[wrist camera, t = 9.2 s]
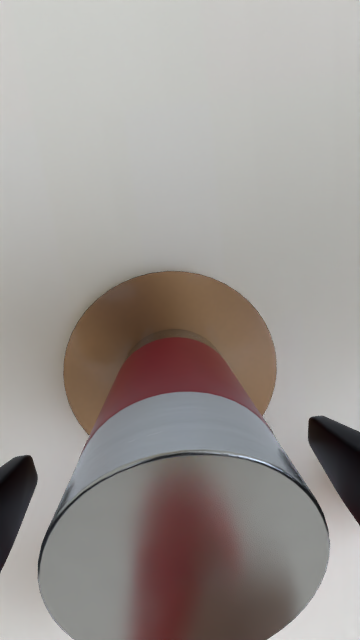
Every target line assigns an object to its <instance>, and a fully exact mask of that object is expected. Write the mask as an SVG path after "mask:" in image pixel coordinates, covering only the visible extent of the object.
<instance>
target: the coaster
mask: <svg viewBox="0 0 360 640" xmlns="http://www.w3.org/2000/svg"><path fill="white" fill-rule="evenodd" d="M167 329H182V330H188V331H191V332H194V333H197V334H199V335H201V336H203V337H204V338H206V339H207V340H208V341H210V342H211V343H212V344H213V345H214V346H215V347H216V349H217V350H218V351H219V353H220V354H221V356H222V357H223V359H224V360H225V361H226V363H227V364H228V366H229V367H230V369H231V370H232V372H233V373H234V375H235V376H236V378H237V379H238V381H239V382H240V384H241V385H242V387H243V388H244V390H245V391H246V393H247V394H248V396H249V397H250V399H251V400H252V402H253V403H254V405H255V406H256V408H257V409H258V411H259V412H260V414H261V415H262V416H263V414H264V413H265V411H266V409H267V407H268V405H269V402H270V400H271V397H272V394H273V390H274V386H275V380H276V355H275V348H274V344H273V341H272V338H271V334H270V332H269V330H268V328H267V326H266V324H265V322H264V320H263V319H262V317H261V316H260V314H259V313H258V311H257V310H256V309H255V308H254V307H253V306H252V305H251V303H250V302H249V301H248V300H247V299H245V298H244V297H243V296H242V295H241V294H240V293H238V292H237V291H235V290H234V289H232V288H231V287H229V286H227V285H226V284H224V283H222V282H219V281H217V280H215V279H213V278H210V277H206V276H203V275H200V274H195V273H189V272H181V271H165V272H156V273H150V274H146V275H142V276H138V277H135V278H132V279H130V280H128V281H125V282H123V283H121V284H119V285H117V286H115V287H114V288H112V289H110V290H109V291H107V292H106V293H105V294H103V295H102V296H101V297H100V298H98V299H97V300H96V301H95V302H94V303H93V304H92V305H91V306H90V307H89V308H88V309H87V310H86V312H85V313H84V314H83V316H82V317H81V318H80V320H79V321H78V323H77V325H76V327H75V328H74V330H73V332H72V334H71V337H70V340H69V342H68V345H67V348H66V354H65V359H64V374H63V375H64V385H65V391H66V395H67V398H68V402H69V404H70V407H71V409H72V411H73V413H74V415H75V417H76V418H77V420H78V422H79V424H80V425H81V426H82V427H83V429H84V430H85V431H86V432H87V434H88V435H90V433H91V431H92V429H93V427H94V424H95V422H96V420H97V418H98V416H99V414H100V411H101V409H102V407H103V405H104V403H105V401H106V398H107V396H108V394H109V392H110V390H111V387H112V385H113V383H114V381H115V379H116V377H117V374H118V372H119V370H120V369H121V367H122V365H123V362H124V360H125V358H126V356H127V355H128V353H129V352H130V350H131V349H132V348H133V347H134V346H135V345H136V344H137V343H138V342H139V341H140V340H142V339H143V338H145V337H146V336H148V335H150V334H152V333H155V332H158V331H162V330H167Z"/></svg>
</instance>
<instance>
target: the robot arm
mask: <svg viewBox="0 0 360 640" xmlns="http://www.w3.org/2000/svg"><path fill="white" fill-rule="evenodd" d="M308 441H309V444H310V446H311V448H312V450H313V452H314V453H315V455H316V457H317V458H318V460H319V462H320V464H321V465H322V467H323V469H324V470H325V472H326V474H327V476H328V477H329V479H330V481H331V482H332V484H333V486H334V488H335V489H336V491H337V493H338V494H339V496H340V497H341V499H342V500H343V502H344V503H345V505H346V506H347V508H348V509H349V511H350V512H351V514H352V515H353V516H354V518H355V519H356V521H357V522H358V524H359V525H360V432H358V431H356V430H354V429H352V428H349V427H347V426H345V425H343V424H340V423H338V422H336V421H334V420H331V419H329V418H327V417H325V416H315V417H311V418H310V419H309V424H308ZM37 480H38V476H37V472H36V469H35V465H34V462H33V459H32V457H31V456H30V455H24V456H17V457H15V458H13V459H11V460H10V461H9V462H7V463H6V464H4V465H3V466H1V467H0V572H1V570H2V568H3V566H4V564H5V562H6V559H7V557H8V555H9V553H10V551H11V548H12V546H13V544H14V541H15V539H16V536H17V534H18V531H19V529H20V526H21V524H22V521H23V518H24V516H25V513H26V511H27V508H28V506H29V503H30V500H31V498H32V495H33V493H34V490H35V487H36V485H37Z"/></svg>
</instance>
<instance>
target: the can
mask: <svg viewBox="0 0 360 640" xmlns="http://www.w3.org/2000/svg"><path fill="white" fill-rule="evenodd" d="M329 550H330V540H329V532H328V527H327V524H326V520H325V517H324V514H323V512H322V510H321V508H320V506H319V504H318V502H317V500H316V498H315V497H314V495H313V494H312V492H311V491H310V489H309V488H308V486H307V485H306V483H305V482H304V480H303V479H302V477H301V476H300V474H299V473H298V471H297V470H296V468H295V467H294V465H293V464H292V462H291V461H290V459H289V458H288V456H287V455H286V453H285V451H284V450H283V448H282V447H281V445H280V444H279V442H278V441H277V439H276V438H275V436H274V434H273V432H272V430H271V429H270V427H269V426H268V424H267V423H266V421H265V420H264V418H263V417H262V415H261V414H260V412H259V411H258V409H257V408H256V406H255V405H254V403H253V402H252V400H251V399H250V397H249V396H248V394H247V393H246V391H245V390H244V388H243V387H242V385H241V384H240V382H239V381H238V379H237V378H236V376H235V375H234V373H233V372H232V370H231V369H230V367H229V366H228V364H227V363H226V361H225V360H224V359H223V357H222V356H221V354H220V353H219V351H218V350H217V349H216V347H215V346H214V345H213V344H212V343H211V342H210V341H208V340H207V339H206V338H204V337H203V336H201V335H199V334H197V333H194V332H191V331H188V330H182V329H167V330H162V331H158V332H155V333H152V334H150V335H148V336H146V337H145V338H143V339H142V340H140V341H139V342H138V343H137V344H136V345H135V346H134V347H133V348H132V349H131V350H130V352H129V353H128V355H127V356H126V358H125V360H124V362H123V365H122V367H121V369H120V370H119V372H118V374H117V377H116V379H115V381H114V383H113V385H112V387H111V390H110V392H109V394H108V396H107V398H106V401H105V403H104V405H103V407H102V409H101V411H100V414H99V416H98V418H97V420H96V422H95V424H94V427H93V429H92V431H91V433H90V435H89V438H88V440H87V442H86V444H85V446H84V448H83V451H82V453H81V456H80V458H79V461H78V464H77V466H76V468H75V470H74V472H73V475H72V477H71V479H70V481H69V483H68V486H67V488H66V490H65V492H64V494H63V497H62V499H61V501H60V503H59V505H58V508H57V510H56V512H55V514H54V516H53V519H52V521H51V523H50V525H49V527H48V530H47V532H46V535H45V537H44V540H43V542H42V545H41V550H40V554H39V559H38V583H39V588H40V593H41V596H42V599H43V601H44V604H45V606H46V608H47V610H48V611H49V613H50V615H51V617H52V618H53V619H54V621H55V622H56V623H57V624H58V625H59V627H60V628H61V629H62V630H63V631H64V632H66V633H67V634H68V635H69V636H70V637H71V638H72V639H74V640H267V639H268V638H270V637H271V636H273V635H274V634H276V633H277V632H279V631H280V630H281V629H283V628H284V627H285V626H287V625H288V624H289V623H290V622H291V621H292V620H294V619H295V618H296V617H297V616H298V615H299V613H300V612H301V611H302V610H303V609H304V608H305V607H306V606H307V604H308V603H309V602H310V600H311V599H312V598H313V596H314V595H315V593H316V591H317V589H318V588H319V586H320V584H321V582H322V579H323V577H324V574H325V572H326V569H327V564H328V560H329Z"/></svg>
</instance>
